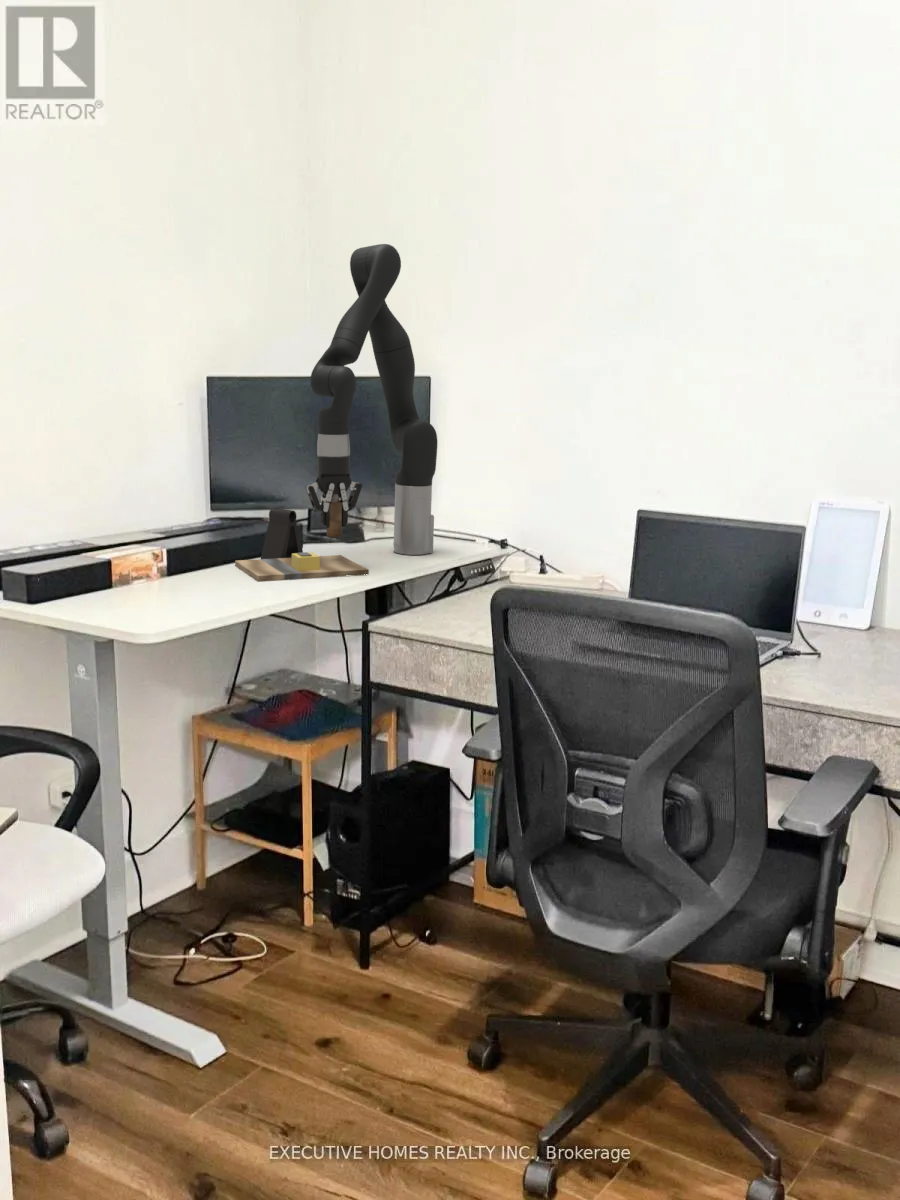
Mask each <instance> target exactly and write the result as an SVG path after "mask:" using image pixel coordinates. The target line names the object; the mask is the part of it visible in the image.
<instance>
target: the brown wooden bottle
mask: <svg viewBox="0 0 900 1200" xmlns="http://www.w3.org/2000/svg"><path fill="white" fill-rule="evenodd" d="M328 512H329V528H326V537H328V538H339V537H343V527H342V502H341V501H339V497H338V494H334V496H333V497H332V498H331V502H330V503H329V508H328Z"/></svg>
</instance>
